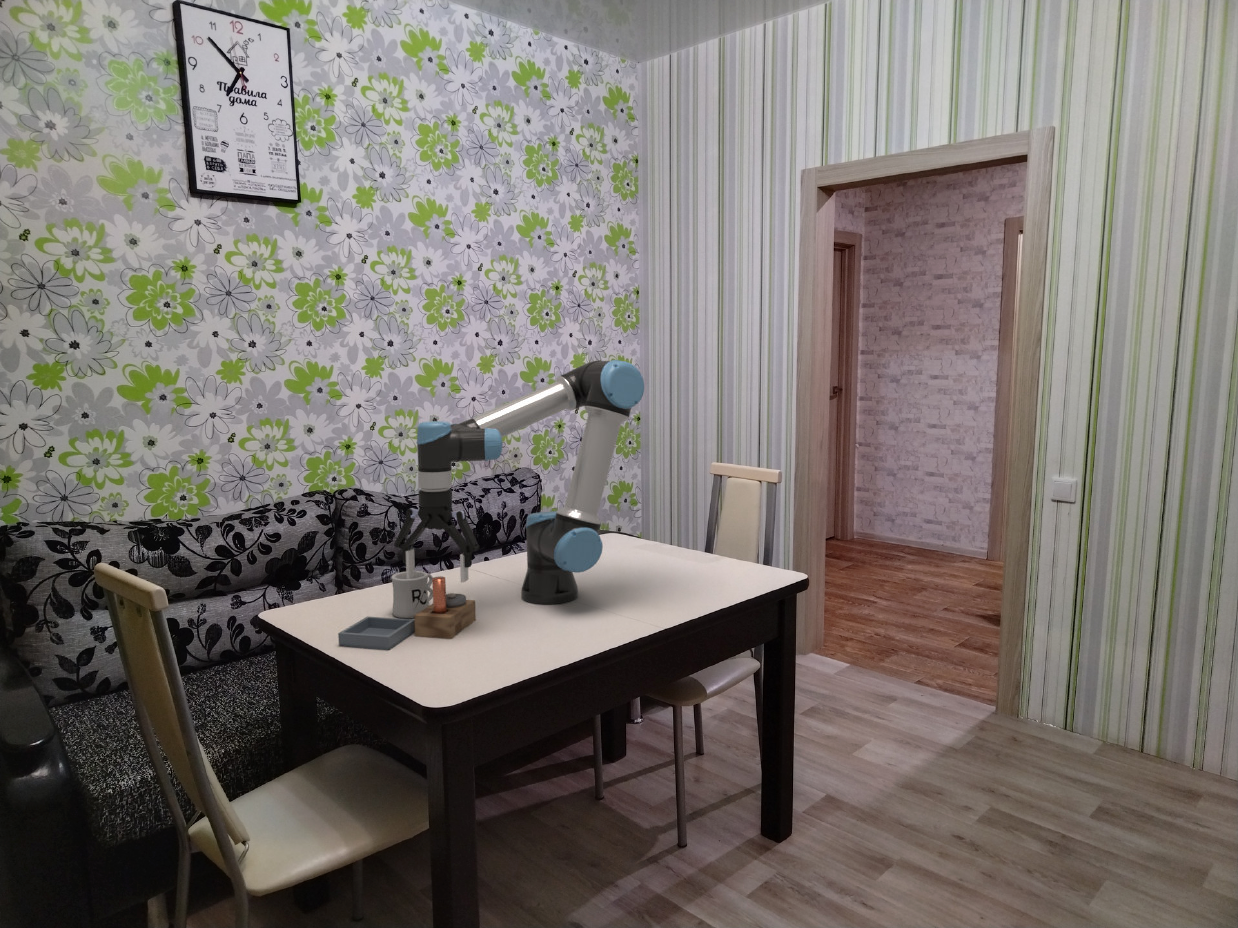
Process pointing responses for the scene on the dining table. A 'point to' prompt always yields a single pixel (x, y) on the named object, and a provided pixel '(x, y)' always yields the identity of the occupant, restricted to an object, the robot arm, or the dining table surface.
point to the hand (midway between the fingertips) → (437, 579)
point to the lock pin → (439, 595)
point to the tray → (377, 633)
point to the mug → (411, 593)
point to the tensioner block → (446, 618)
